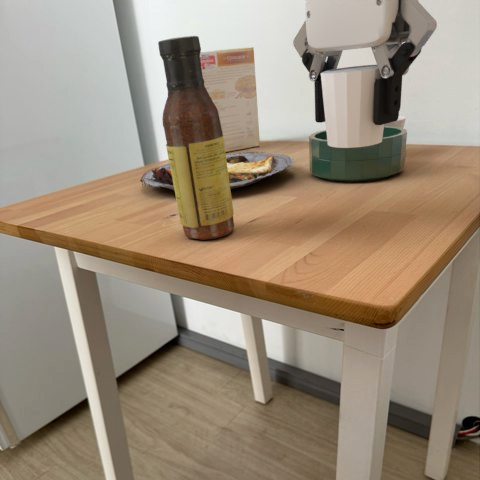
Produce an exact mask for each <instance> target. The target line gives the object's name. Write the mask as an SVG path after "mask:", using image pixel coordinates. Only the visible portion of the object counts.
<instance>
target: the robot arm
mask: <svg viewBox="0 0 480 480" xmlns="http://www.w3.org/2000/svg"><path fill="white" fill-rule="evenodd" d="M437 27H438V23H437V20H436V19H435V18H434V17H433V16H432V15H431V14H430V13H429V11H428V10H427V9H426V8H425V7H424V6H423V5H422V4H421V3H420V2H419V0H305V20H304V21H303V24H302V26H301V27H300V29H299V30H298V32H297V33H296V35H295V36H294V38H293V41H292V42H293V44H292V45H293V47H294V49H295V50H296V52H297V54H298V55H299V57H300V58H301V63H302V65H304V67H305V68H306V70H307V72H308V78H309V80H310V82H313V83H314V85H313V86H314V120H315V122H316V123H326V122H325V112H324V102H323V92H322V82H321V73H322V72H325V71H328V70H332V69H338V66H339V63H340V60H341V57H342V54H343V51H350V50H358V49H366V48H368V49H369V48H370V49H371V51H372V54H373V57H374V60H375V64H376V65H377V66H378V69H379V72H380V75H381V78H380V79H375V83H374V110H373V123H374V124H375V125H383V124H387V123H390V122H394V121H397V120H398V117H399V116H400V111H401V105H402V90H403V88H402V87H403V76H405V75H406V74H408V72H409V70H410V67H411V65H412V64H413V63H414V62H415V60H416V59H417V58H418V56H419V55H420V54H421V53H422V49H423V47H424V46H425V45H426V44H427V43H428V41H429V40H430V38H431V37H432V35H433V34H434V32H435V31H436V30H437Z"/></svg>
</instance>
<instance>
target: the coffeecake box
mask: <svg viewBox="0 0 480 480" xmlns="http://www.w3.org/2000/svg"><path fill="white" fill-rule="evenodd" d="M254 49H255V48H254V47H253V46H252V47H239V48H225V49H215V50H205V51H201V52H200V61H201V68H202V76H203V79H204V86H205V88H206V90H207V92H208V94H209V96H210V97H211V99H212V101H213V103H214V104H215V106H216V108H217V110H218V114H219V119H220V123H221V128H222V132H223V138H224V146H225V153H229V152H230V153H231V152H235V151H240V150H245V149H251V148H255V147H260V146H261V140H260V139H261V138H260V125H259V124H260V123H259V110H258V95H257V94H258V93H257V80H256V65H255V50H254Z"/></svg>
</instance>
